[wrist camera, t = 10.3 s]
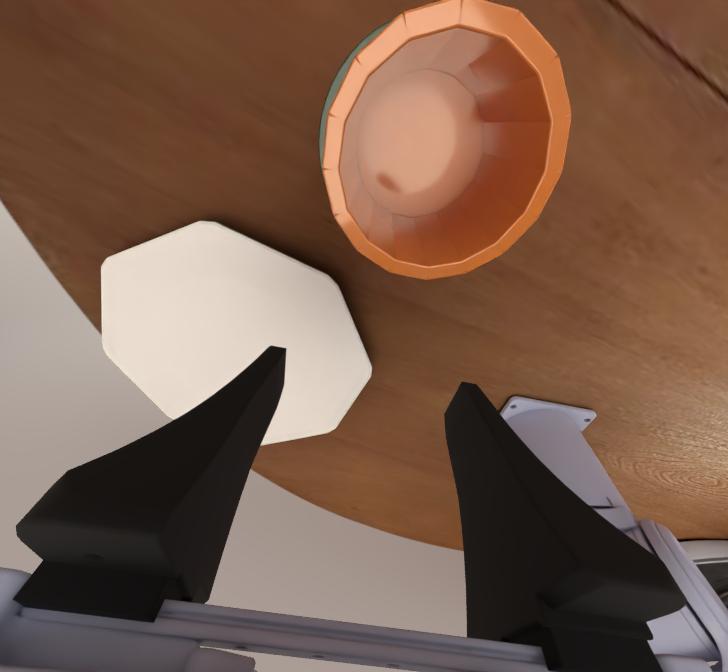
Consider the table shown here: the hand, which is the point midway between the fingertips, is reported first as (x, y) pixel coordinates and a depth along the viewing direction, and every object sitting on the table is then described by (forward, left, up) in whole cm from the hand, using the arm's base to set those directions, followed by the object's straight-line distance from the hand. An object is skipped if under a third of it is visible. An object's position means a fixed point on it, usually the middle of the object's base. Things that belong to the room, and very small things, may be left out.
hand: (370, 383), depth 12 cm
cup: (+8, 0, -4) cm, 9 cm away
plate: (-8, +9, -10) cm, 16 cm away
